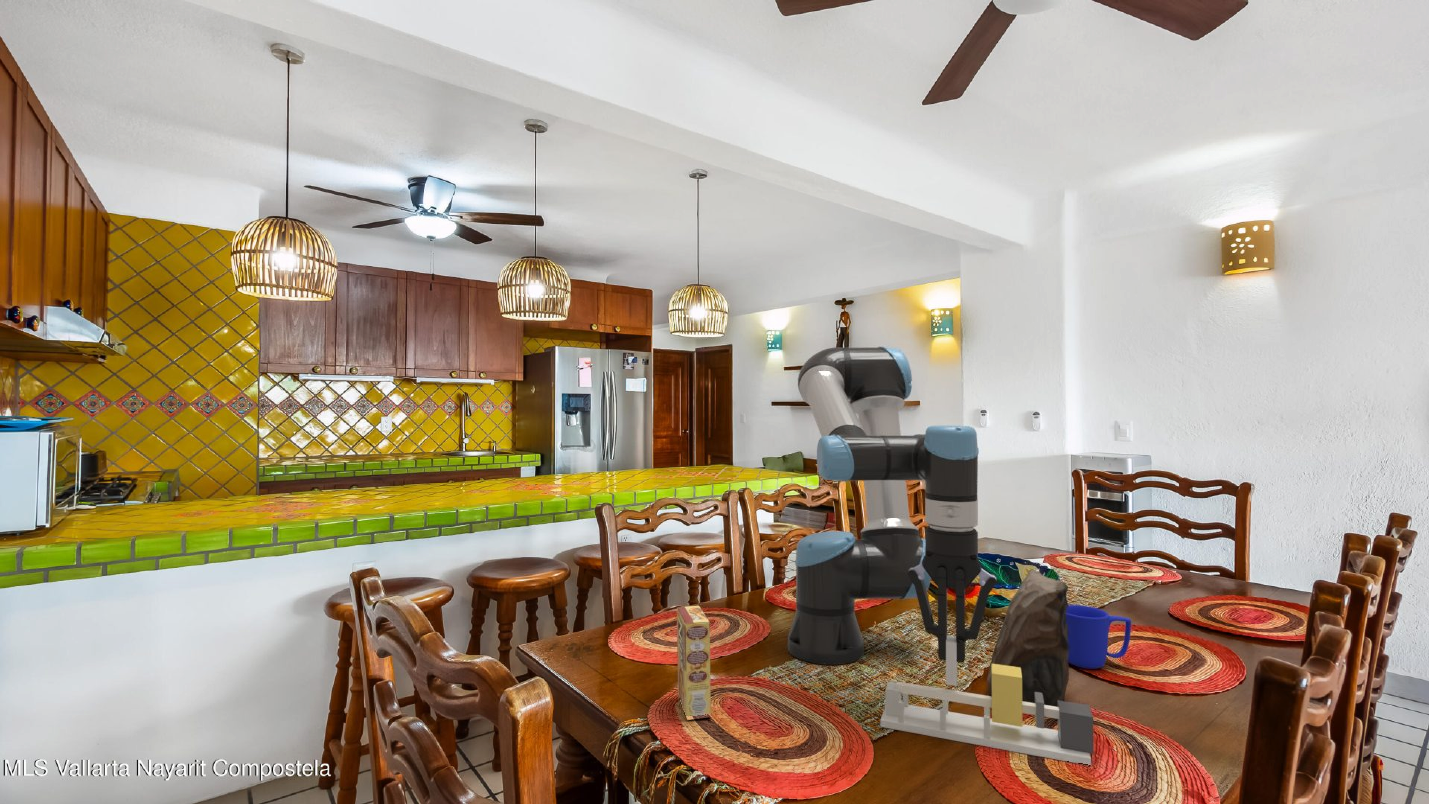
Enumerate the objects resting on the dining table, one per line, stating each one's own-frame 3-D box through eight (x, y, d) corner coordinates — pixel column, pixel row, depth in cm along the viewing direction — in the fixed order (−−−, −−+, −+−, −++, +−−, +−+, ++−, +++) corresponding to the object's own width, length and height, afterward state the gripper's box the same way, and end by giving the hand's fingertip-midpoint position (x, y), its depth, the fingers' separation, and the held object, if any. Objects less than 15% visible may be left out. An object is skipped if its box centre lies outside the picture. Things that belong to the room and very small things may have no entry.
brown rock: (1022, 674, 117) (1021, 565, 118) (1095, 700, 107) (1094, 579, 107) (982, 692, 110) (981, 575, 110) (1056, 721, 100) (1055, 592, 100)
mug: (1140, 675, 117) (1140, 620, 117) (1068, 670, 119) (1067, 616, 119) (1121, 658, 125) (1121, 607, 125) (1054, 654, 127) (1053, 603, 127)
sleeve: (992, 721, 93) (991, 673, 93) (991, 710, 97) (991, 663, 97) (1022, 727, 92) (1022, 677, 92) (1021, 714, 95) (1020, 667, 96)
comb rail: (880, 726, 98) (880, 681, 98) (887, 707, 105) (886, 665, 105) (1095, 766, 87) (1094, 716, 87) (1087, 742, 93) (1087, 695, 93)
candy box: (712, 719, 101) (711, 621, 101) (685, 722, 100) (685, 623, 100) (700, 695, 109) (700, 604, 109) (675, 697, 108) (675, 606, 108)
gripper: (904, 528, 97) (904, 684, 97) (998, 534, 92) (999, 699, 92) (909, 519, 104) (909, 665, 104) (997, 525, 99) (997, 678, 99)
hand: (951, 681), depth 98 cm, fingers closed
